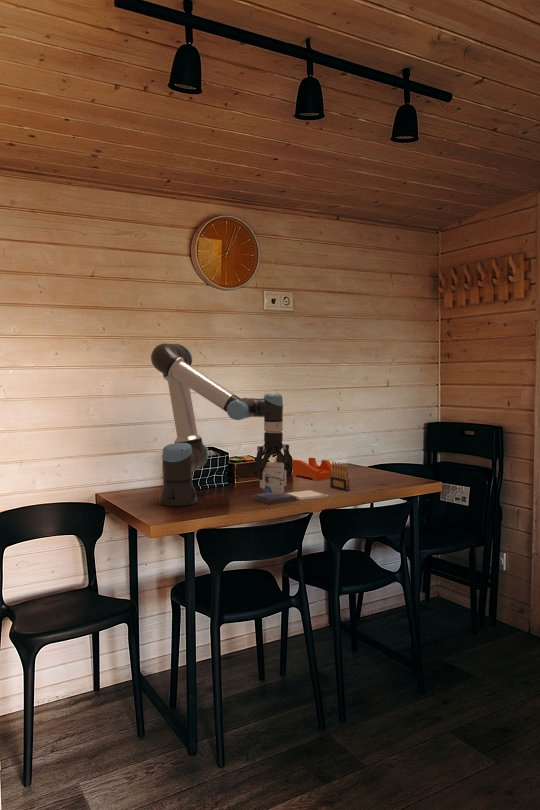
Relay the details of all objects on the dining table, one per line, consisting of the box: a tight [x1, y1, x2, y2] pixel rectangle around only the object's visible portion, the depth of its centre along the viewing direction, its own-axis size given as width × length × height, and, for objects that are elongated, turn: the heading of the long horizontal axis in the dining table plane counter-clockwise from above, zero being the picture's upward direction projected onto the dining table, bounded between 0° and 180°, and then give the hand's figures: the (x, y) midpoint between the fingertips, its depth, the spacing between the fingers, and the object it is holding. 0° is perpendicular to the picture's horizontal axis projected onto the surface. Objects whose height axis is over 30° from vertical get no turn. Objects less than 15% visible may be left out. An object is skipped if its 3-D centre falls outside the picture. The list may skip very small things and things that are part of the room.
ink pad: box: [252, 492, 297, 505], centre depth 259 cm, size 13×13×2 cm
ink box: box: [261, 461, 285, 493], centre depth 258 cm, size 9×5×12 cm, turn 84°
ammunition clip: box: [329, 461, 350, 492], centre depth 279 cm, size 11×2×12 cm, turn 34°
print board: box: [285, 489, 330, 501], centre depth 266 cm, size 14×14×1 cm
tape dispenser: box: [291, 457, 332, 482], centre depth 310 cm, size 18×13×8 cm
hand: (273, 486), depth 259 cm, fingers closed on ink box, 9 cm apart
